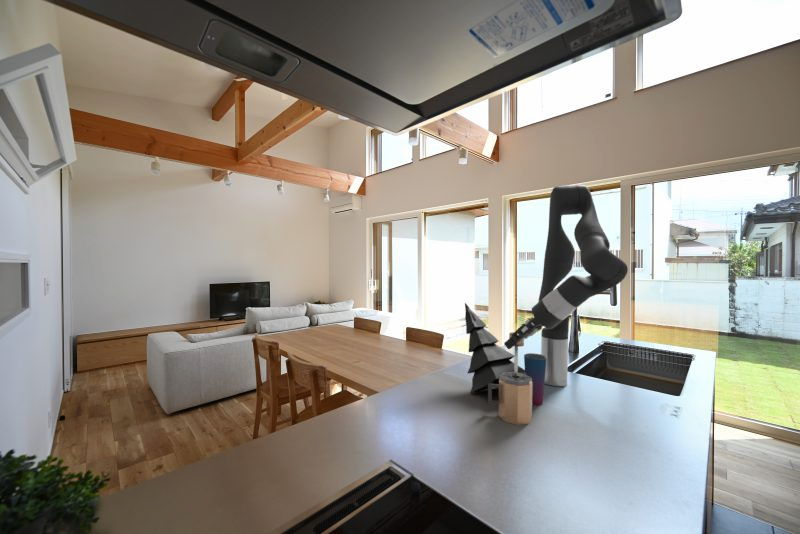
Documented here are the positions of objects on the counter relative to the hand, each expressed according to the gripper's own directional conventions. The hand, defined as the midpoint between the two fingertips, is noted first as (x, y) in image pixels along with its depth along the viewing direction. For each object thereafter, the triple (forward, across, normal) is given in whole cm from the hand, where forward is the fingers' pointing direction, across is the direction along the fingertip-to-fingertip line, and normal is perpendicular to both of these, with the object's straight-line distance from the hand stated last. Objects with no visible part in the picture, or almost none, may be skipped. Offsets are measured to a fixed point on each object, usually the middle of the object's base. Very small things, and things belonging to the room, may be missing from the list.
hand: (509, 344), depth 99 cm
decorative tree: (+25, -14, +5) cm, 29 cm away
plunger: (+9, 0, +12) cm, 15 cm away
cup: (+13, -15, +17) cm, 26 cm away
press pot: (+14, +1, +16) cm, 21 cm away
